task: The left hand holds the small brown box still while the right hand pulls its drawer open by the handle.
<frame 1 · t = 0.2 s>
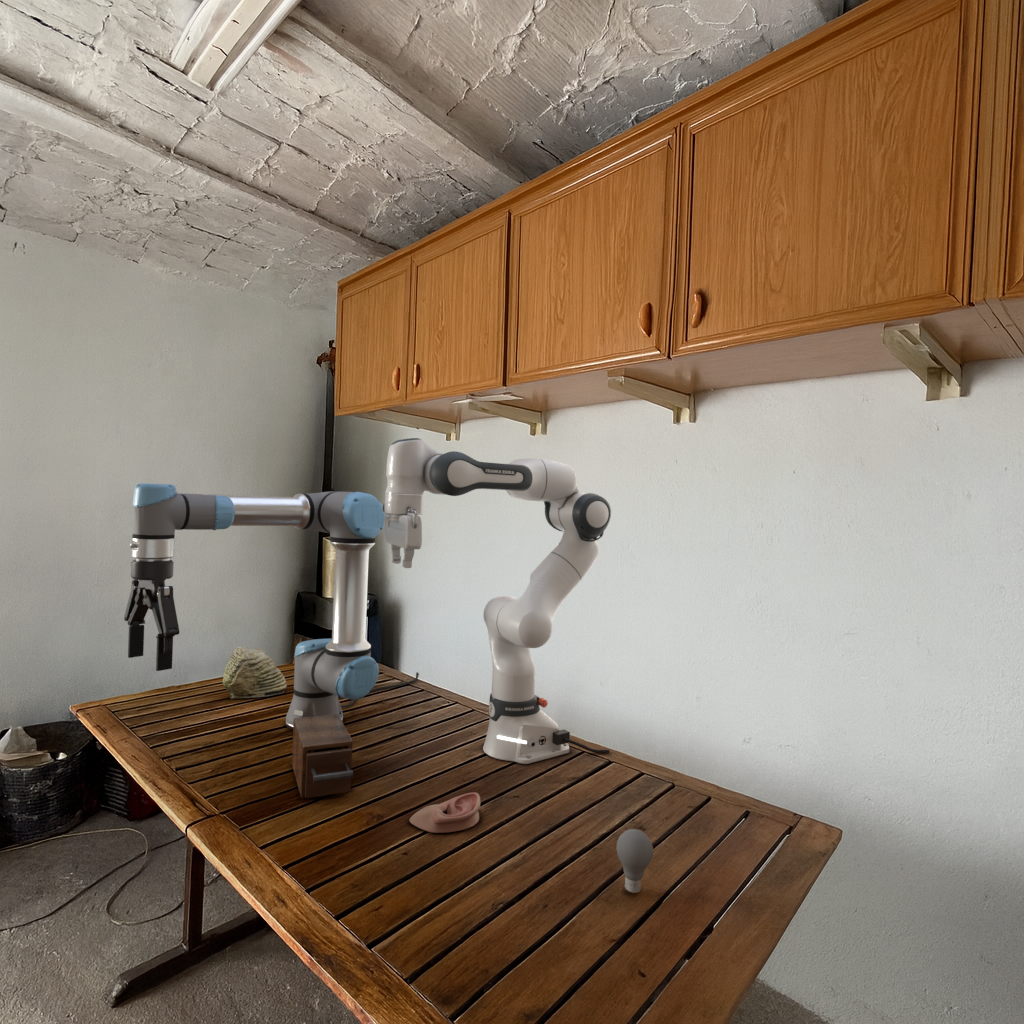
left hand: (149, 663, 129), 28 cm above the table, tool pointing down, fingers open, 13 cm apart
right hand: (401, 565, 149), 48 cm above the table, tool pointing down, fingers open, 8 cm apart
fossil: (254, 694, 198), on the table
drawer: (324, 763, 138), point 5 cm above the table, slide at 1.1 cm
brown box: (320, 777, 143), on the table
anatomical model: (445, 820, 126), on the table
light bulb: (632, 891, 106), on the table
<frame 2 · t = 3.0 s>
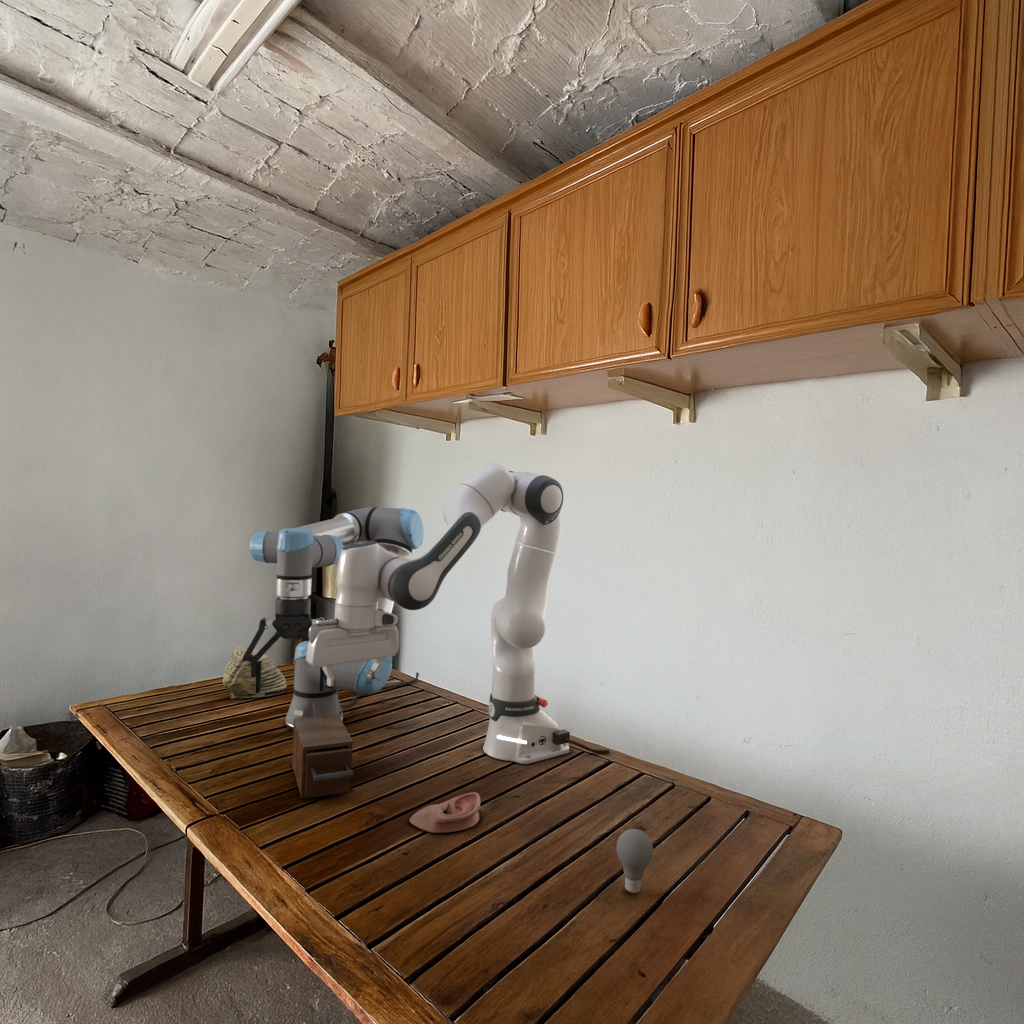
left hand: (290, 690, 143), 19 cm above the table, tool pointing down, fingers open, 13 cm apart
right hand: (352, 681, 135), 24 cm above the table, tool pointing down, fingers open, 8 cm apart
nothing on the table moved.
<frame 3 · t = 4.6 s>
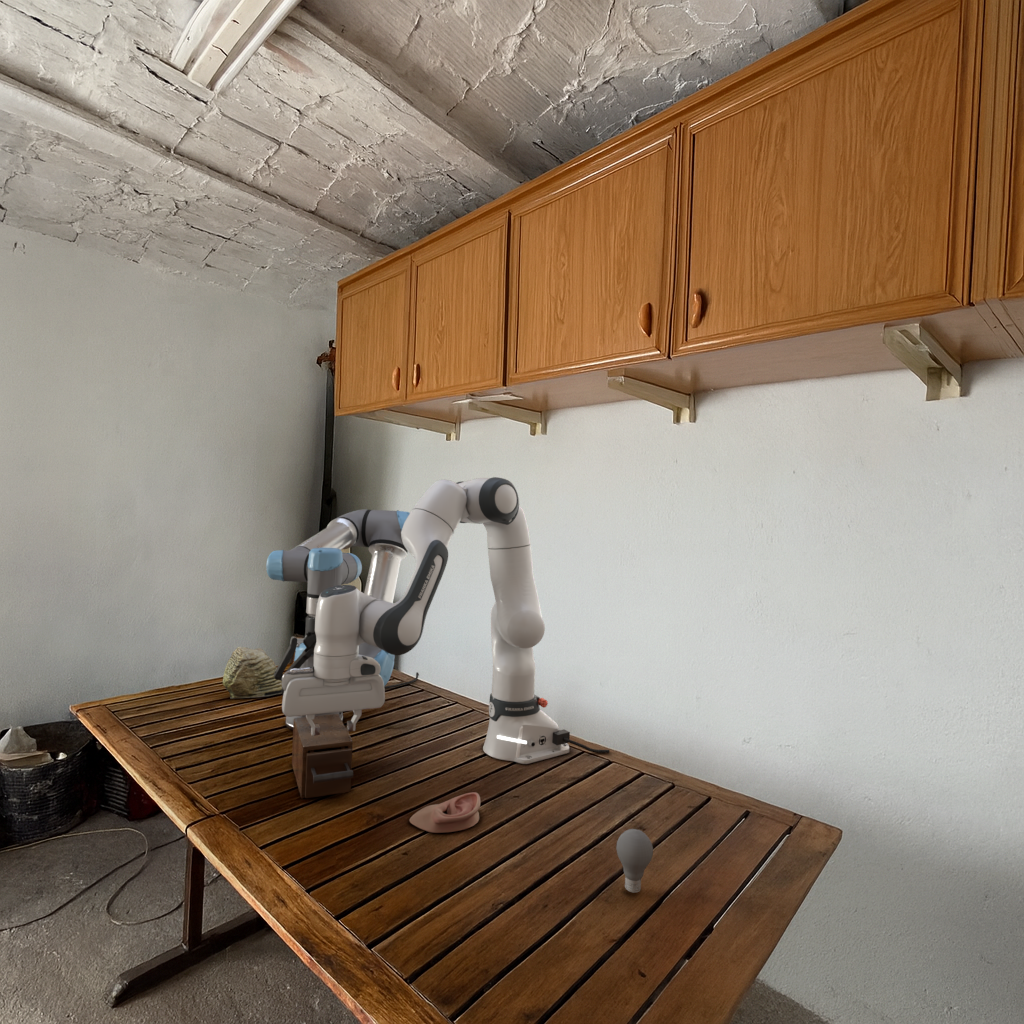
left hand: (319, 706, 146), 15 cm above the table, tool pointing down, fingers open, 13 cm apart
right hand: (333, 732, 130), 15 cm above the table, tool pointing down, fingers open, 6 cm apart
nothing on the table moved.
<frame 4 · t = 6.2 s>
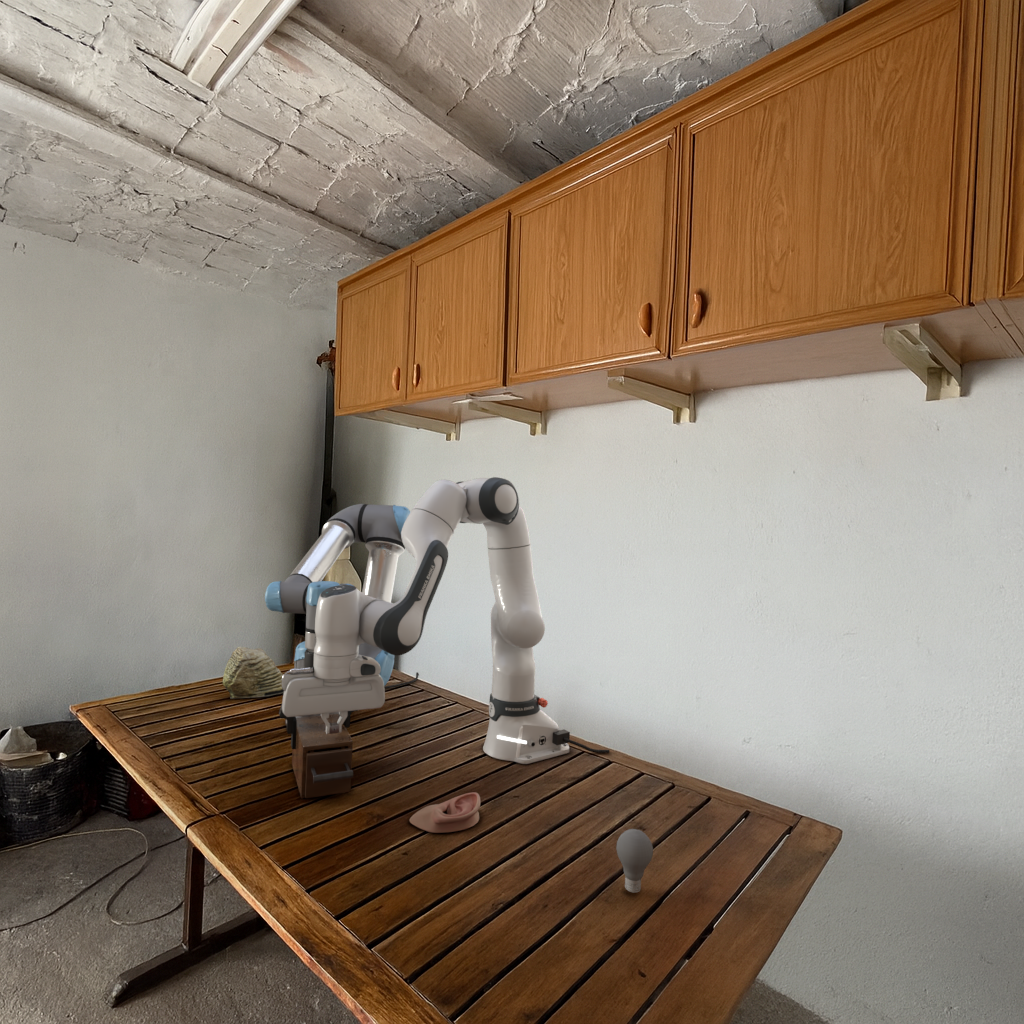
left hand: (318, 744, 147), 6 cm above the table, tool pointing down, fingers closed on brown box, 10 cm apart
right hand: (333, 732, 130), 15 cm above the table, tool pointing down, fingers closed
brown box: (320, 777, 143), on the table, touching left hand
everything else where it was.
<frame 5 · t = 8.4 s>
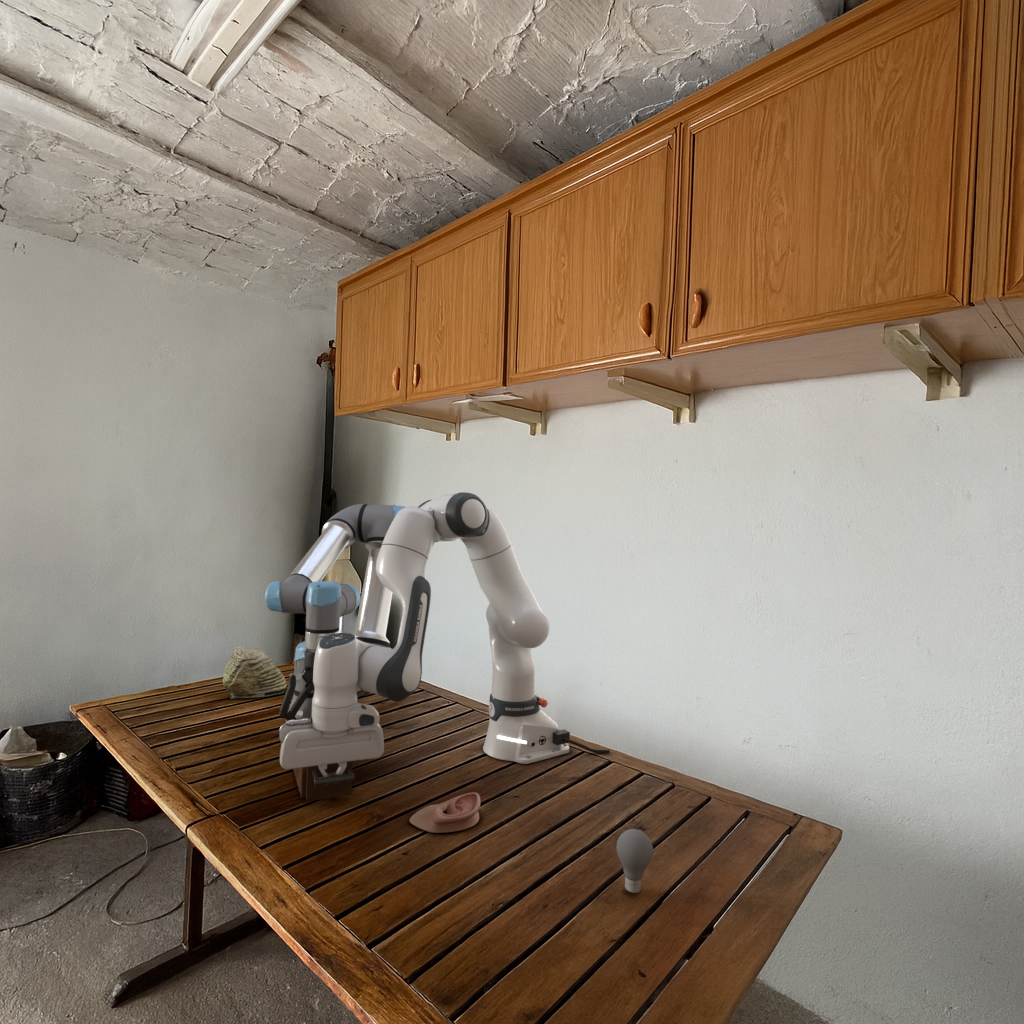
left hand: (318, 744, 147), 6 cm above the table, tool pointing down, fingers closed on brown box, 10 cm apart
right hand: (331, 783, 128), 6 cm above the table, tool pointing down, fingers closed, pressing on drawer
drawer: (325, 766, 136), point 5 cm above the table, slide at 2.5 cm, touching right hand
brown box: (320, 777, 143), on the table, touching left hand
everything else where it was.
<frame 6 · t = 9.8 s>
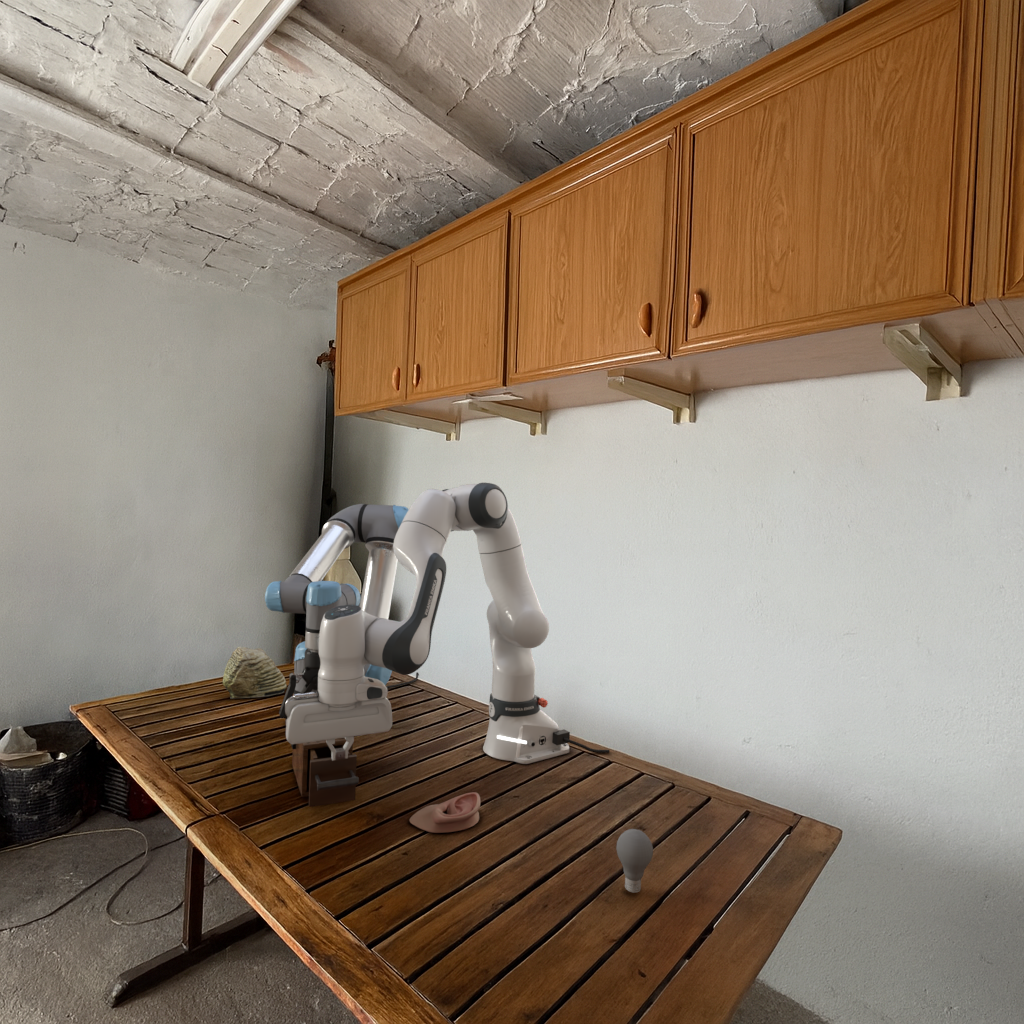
left hand: (318, 744, 147), 6 cm above the table, tool pointing down, fingers closed on brown box, 10 cm apart
right hand: (339, 758, 125), 12 cm above the table, tool pointing down, fingers closed
drawer: (329, 770, 133), point 6 cm above the table, slide at 6.0 cm
brown box: (320, 777, 143), on the table, touching left hand
everything else where it was.
when the left hand's fingers open (6 cm above the table, at t = 11.0 s): brown box stays where it is, on the table.
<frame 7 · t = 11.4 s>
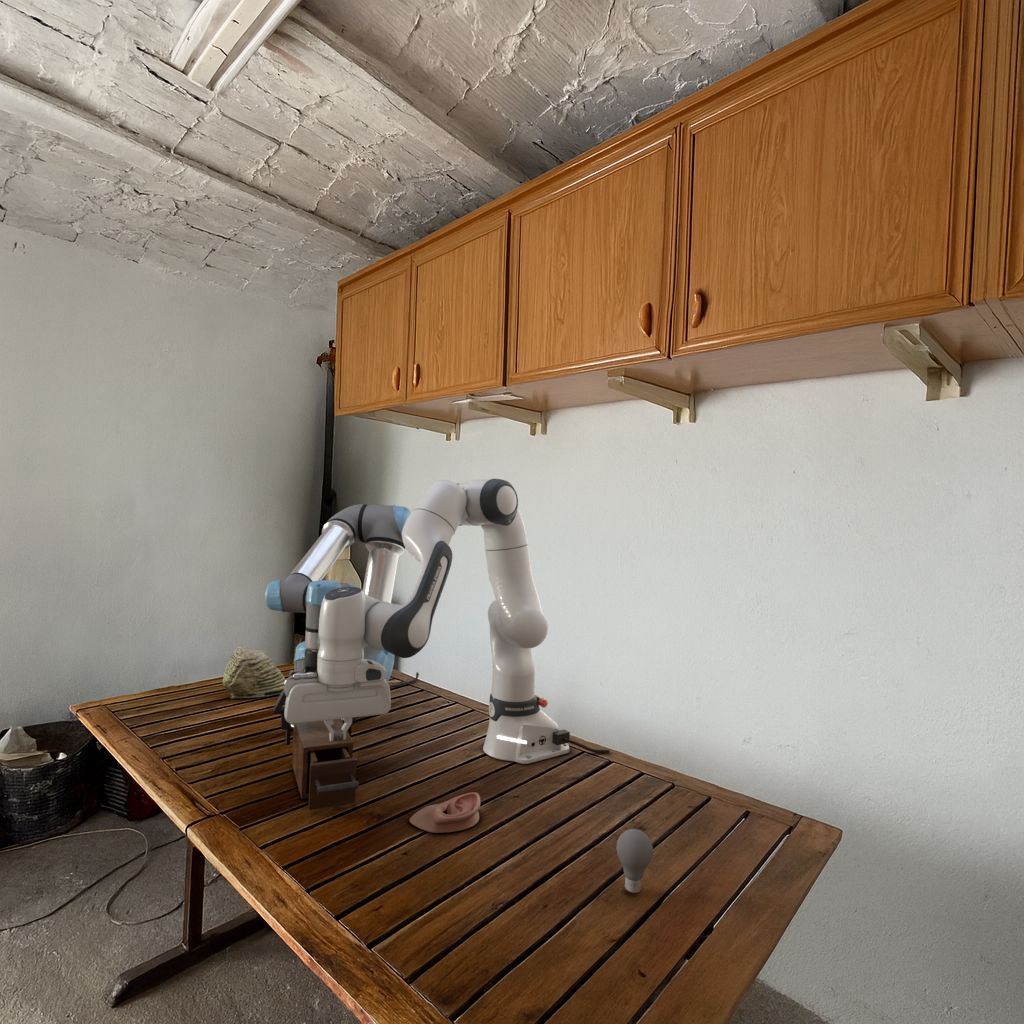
left hand: (318, 739, 147), 7 cm above the table, tool pointing down, fingers open, 13 cm apart
right hand: (337, 739, 125), 16 cm above the table, tool pointing down, fingers closed
brown box: (320, 778, 143), on the table
everything else where it was.
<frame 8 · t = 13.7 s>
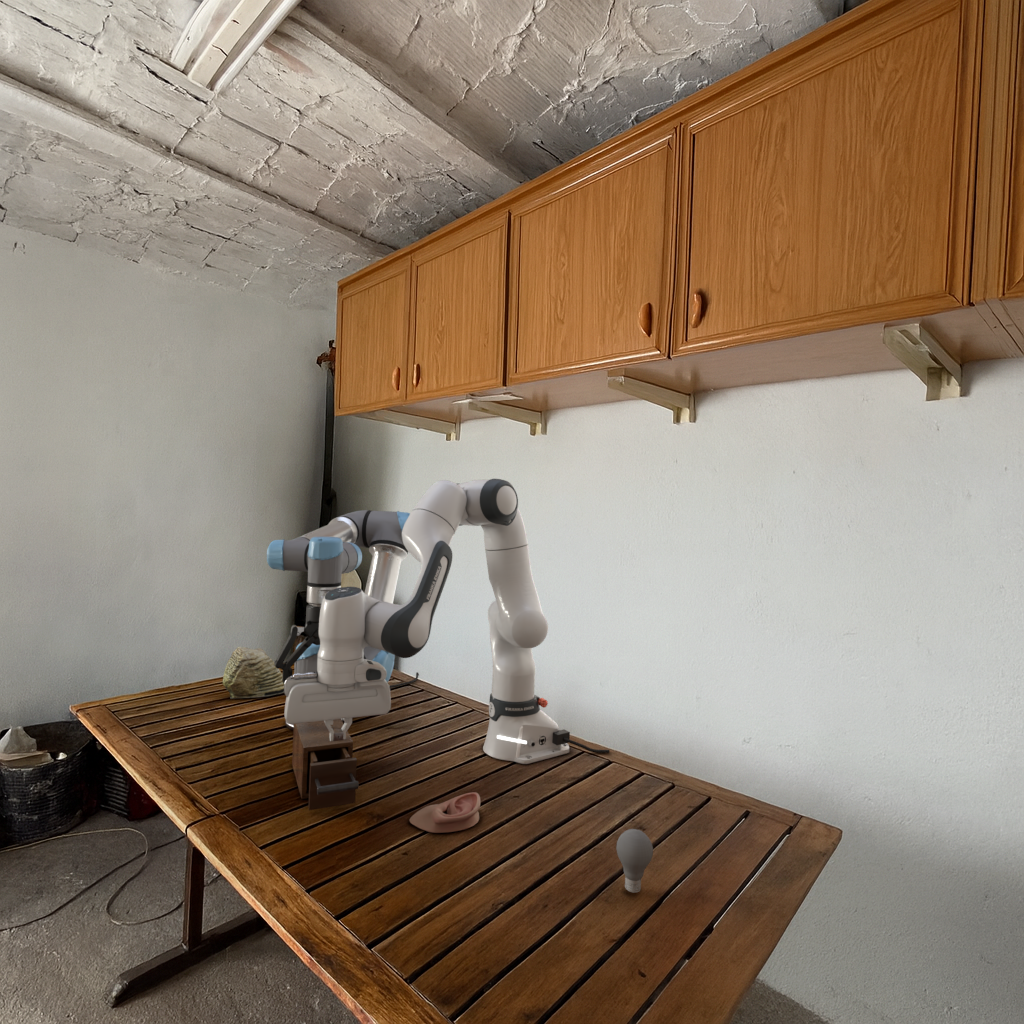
left hand: (320, 695, 147), 17 cm above the table, tool pointing down, fingers open, 13 cm apart
right hand: (337, 739, 125), 16 cm above the table, tool pointing down, fingers closed
nothing on the table moved.
at the end: drawer slide at 6.0 cm; brown box tilted 0°; brown box never tilted more than 2° during the clip; brown box moved 0.4 cm from its start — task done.
